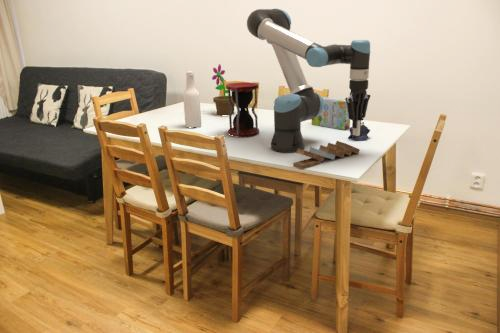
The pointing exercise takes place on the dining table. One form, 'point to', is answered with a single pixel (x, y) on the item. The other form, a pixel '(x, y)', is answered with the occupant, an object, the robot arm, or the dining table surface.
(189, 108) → the alcohol
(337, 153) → the domino
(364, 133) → the frog
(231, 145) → the dining table surface
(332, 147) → the domino
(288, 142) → the robot arm
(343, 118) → the snack box
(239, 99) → the hourglass
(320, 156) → the domino
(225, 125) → the dining table surface
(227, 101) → the flowerpot
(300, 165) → the domino
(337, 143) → the domino
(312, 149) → the domino
